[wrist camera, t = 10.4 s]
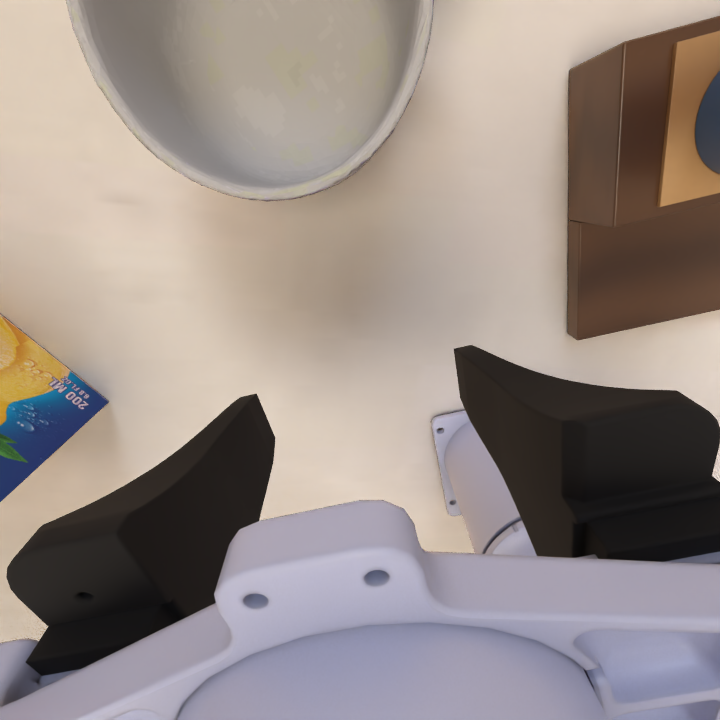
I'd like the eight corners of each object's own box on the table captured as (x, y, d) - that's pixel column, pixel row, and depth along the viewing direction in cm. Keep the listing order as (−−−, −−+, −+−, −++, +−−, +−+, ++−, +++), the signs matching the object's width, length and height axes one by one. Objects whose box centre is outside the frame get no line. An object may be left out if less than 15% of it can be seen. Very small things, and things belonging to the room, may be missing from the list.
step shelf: (747, 293, 23) (826, 315, 19) (567, 333, 24) (608, 362, 20) (811, 3, 17) (942, -47, 13) (568, 69, 18) (627, 39, 14)
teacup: (223, 216, 20) (154, 234, 13) (125, -53, 16) (-63, -251, 9) (478, 150, 19) (556, 132, 12) (454, -156, 15) (555, -476, 8)
